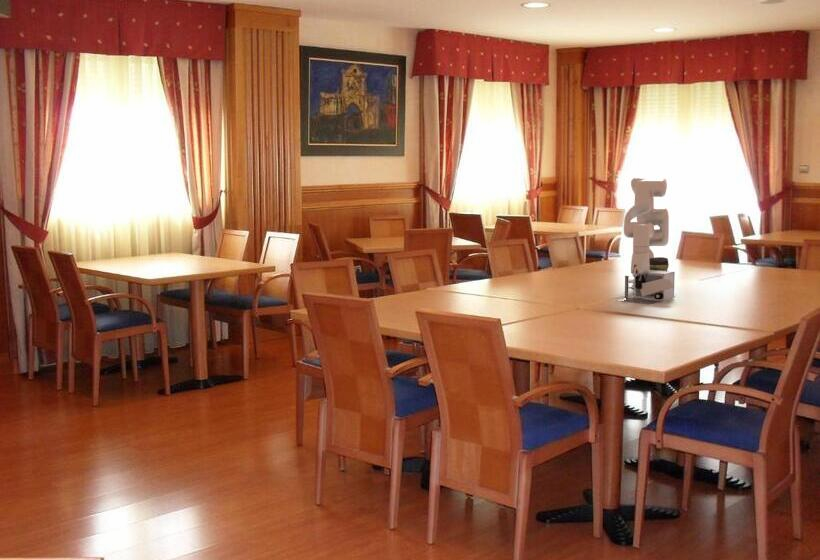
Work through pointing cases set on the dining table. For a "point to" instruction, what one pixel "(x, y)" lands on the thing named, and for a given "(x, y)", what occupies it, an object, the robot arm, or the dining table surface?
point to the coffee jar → (659, 264)
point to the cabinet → (654, 276)
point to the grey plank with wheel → (656, 287)
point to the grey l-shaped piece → (643, 301)
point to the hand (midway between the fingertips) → (640, 288)
